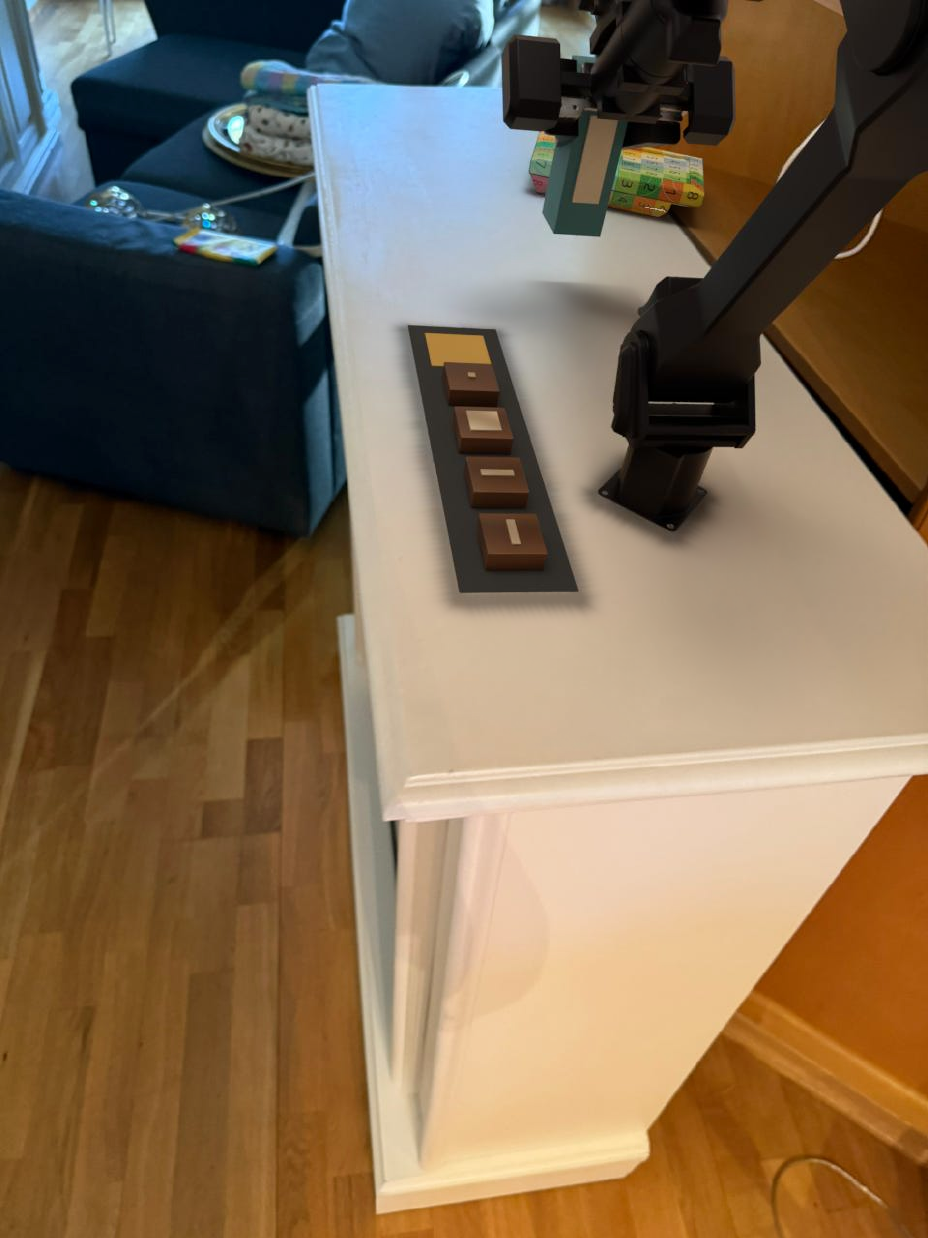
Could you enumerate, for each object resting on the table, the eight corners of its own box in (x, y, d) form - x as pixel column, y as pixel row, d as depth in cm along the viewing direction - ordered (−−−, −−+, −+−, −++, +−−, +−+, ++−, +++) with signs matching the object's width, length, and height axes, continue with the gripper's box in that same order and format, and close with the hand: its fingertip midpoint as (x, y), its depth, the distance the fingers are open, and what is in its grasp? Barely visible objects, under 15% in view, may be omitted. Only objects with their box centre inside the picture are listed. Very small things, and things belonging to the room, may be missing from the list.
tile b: (525, 508, 64) (530, 490, 63) (470, 508, 63) (474, 489, 62) (515, 473, 67) (519, 455, 66) (462, 472, 66) (465, 454, 65)
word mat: (577, 597, 59) (579, 590, 59) (458, 598, 58) (459, 591, 57) (494, 334, 81) (495, 328, 81) (406, 330, 80) (407, 323, 79)
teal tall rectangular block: (601, 238, 82) (640, 78, 72) (554, 235, 81) (587, 73, 71) (586, 214, 85) (622, 58, 76) (541, 211, 84) (571, 53, 75)
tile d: (496, 407, 72) (500, 389, 71) (447, 405, 72) (450, 387, 70) (488, 379, 75) (492, 361, 74) (441, 377, 74) (443, 359, 73)
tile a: (543, 570, 60) (548, 551, 59) (484, 570, 59) (488, 551, 58) (531, 529, 63) (536, 511, 61) (475, 529, 62) (479, 511, 61)
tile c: (510, 454, 68) (514, 436, 67) (458, 453, 67) (461, 435, 66) (501, 423, 71) (505, 405, 70) (451, 422, 70) (454, 404, 69)
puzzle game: (542, 117, 109) (705, 151, 108) (535, 158, 112) (692, 190, 112) (532, 151, 101) (707, 187, 100) (524, 194, 104) (694, 229, 104)
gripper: (775, -65, 65) (679, 59, 81) (529, -99, 61) (477, 38, 77) (778, 91, 66) (682, 185, 81) (534, 67, 62) (481, 171, 77)
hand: (583, 143), depth 79 cm, fingers closed on teal tall rectangular block, 4 cm apart
